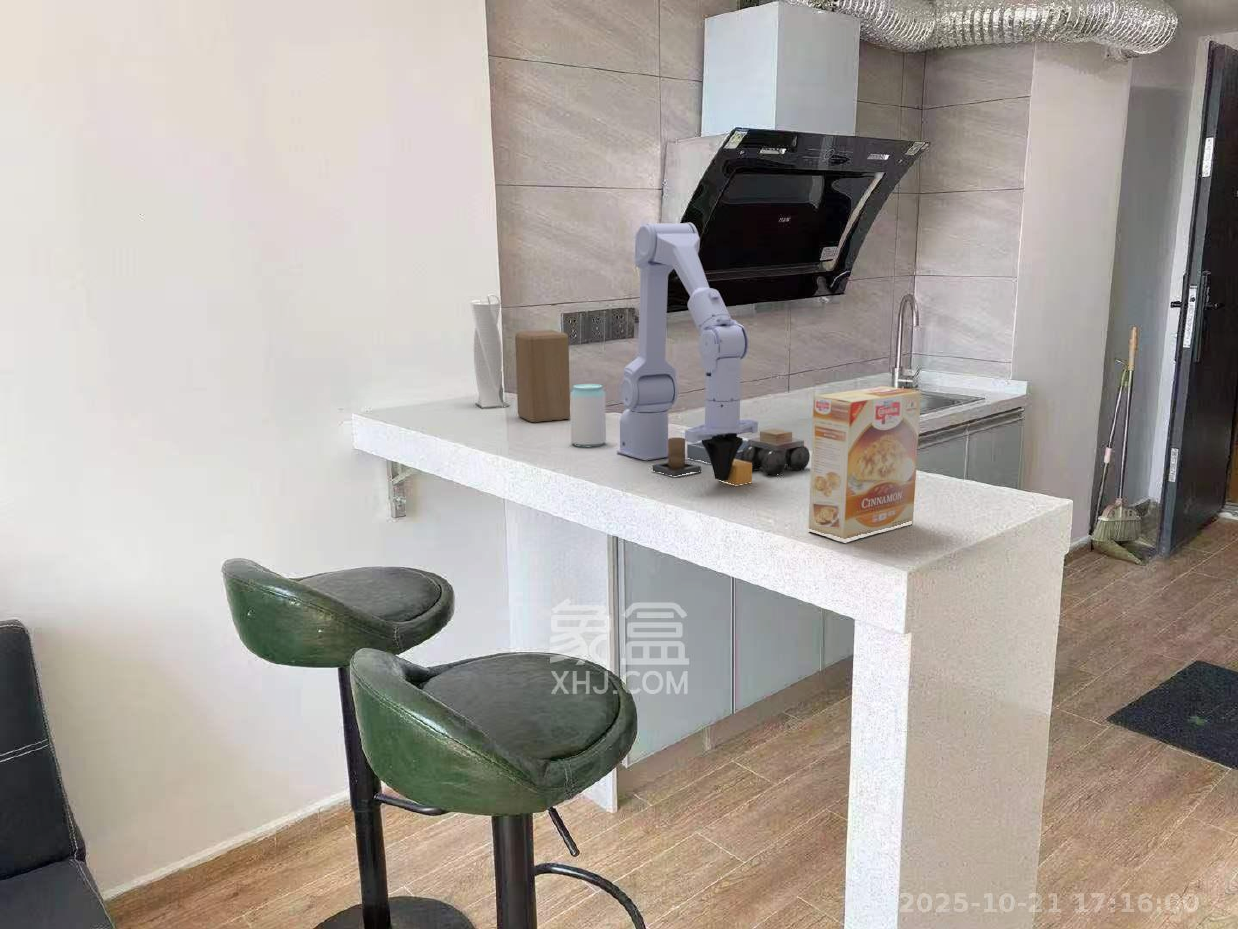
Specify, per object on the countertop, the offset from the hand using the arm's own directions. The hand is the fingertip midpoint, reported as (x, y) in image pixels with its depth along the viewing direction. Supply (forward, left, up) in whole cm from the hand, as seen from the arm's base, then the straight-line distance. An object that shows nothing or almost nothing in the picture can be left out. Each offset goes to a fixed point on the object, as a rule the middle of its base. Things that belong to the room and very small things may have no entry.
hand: (721, 479), depth 163 cm
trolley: (-3, +15, -1) cm, 16 cm away
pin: (-12, 0, -1) cm, 12 cm away
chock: (0, +3, -1) cm, 3 cm away
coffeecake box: (+31, -2, -1) cm, 31 cm away
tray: (-14, +14, -1) cm, 20 cm away
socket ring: (-12, 0, -1) cm, 12 cm away
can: (-42, +2, -1) cm, 42 cm away
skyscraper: (-96, +10, -1) cm, 97 cm away
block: (-73, +11, -1) cm, 74 cm away
